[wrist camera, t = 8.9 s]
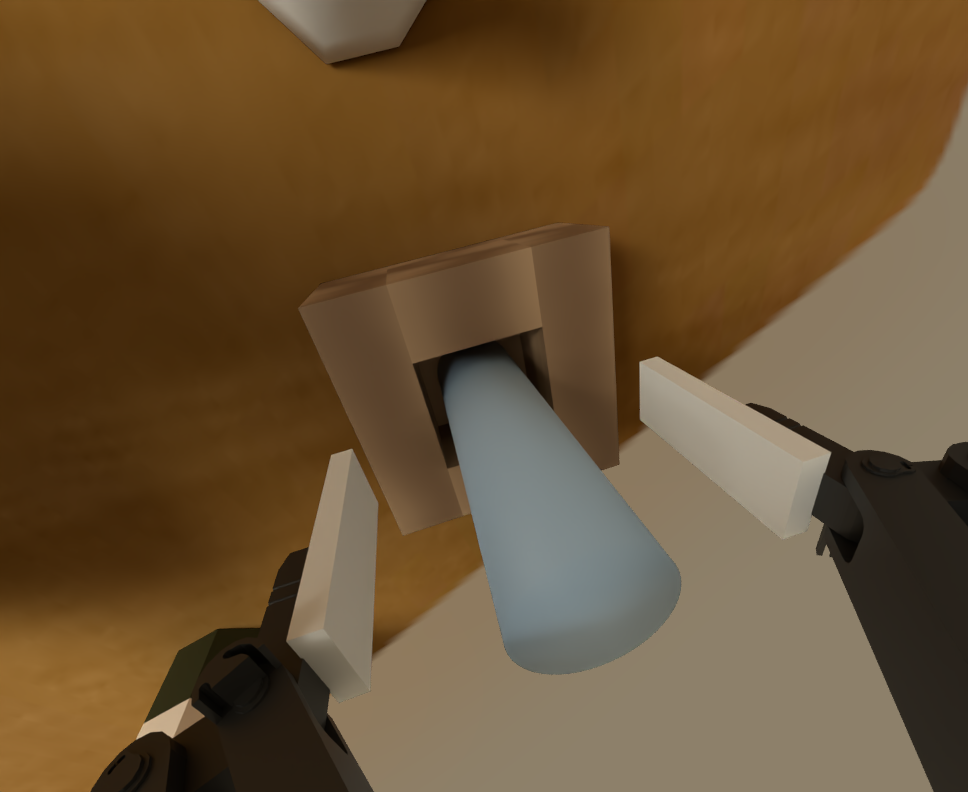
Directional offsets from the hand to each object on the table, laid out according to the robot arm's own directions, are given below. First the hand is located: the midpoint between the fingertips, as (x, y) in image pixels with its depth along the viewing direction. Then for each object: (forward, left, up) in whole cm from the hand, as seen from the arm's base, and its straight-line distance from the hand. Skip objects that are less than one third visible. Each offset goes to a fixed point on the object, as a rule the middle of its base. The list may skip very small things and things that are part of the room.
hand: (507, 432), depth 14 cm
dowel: (0, 0, -7) cm, 7 cm away
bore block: (0, 0, -8) cm, 8 cm away
